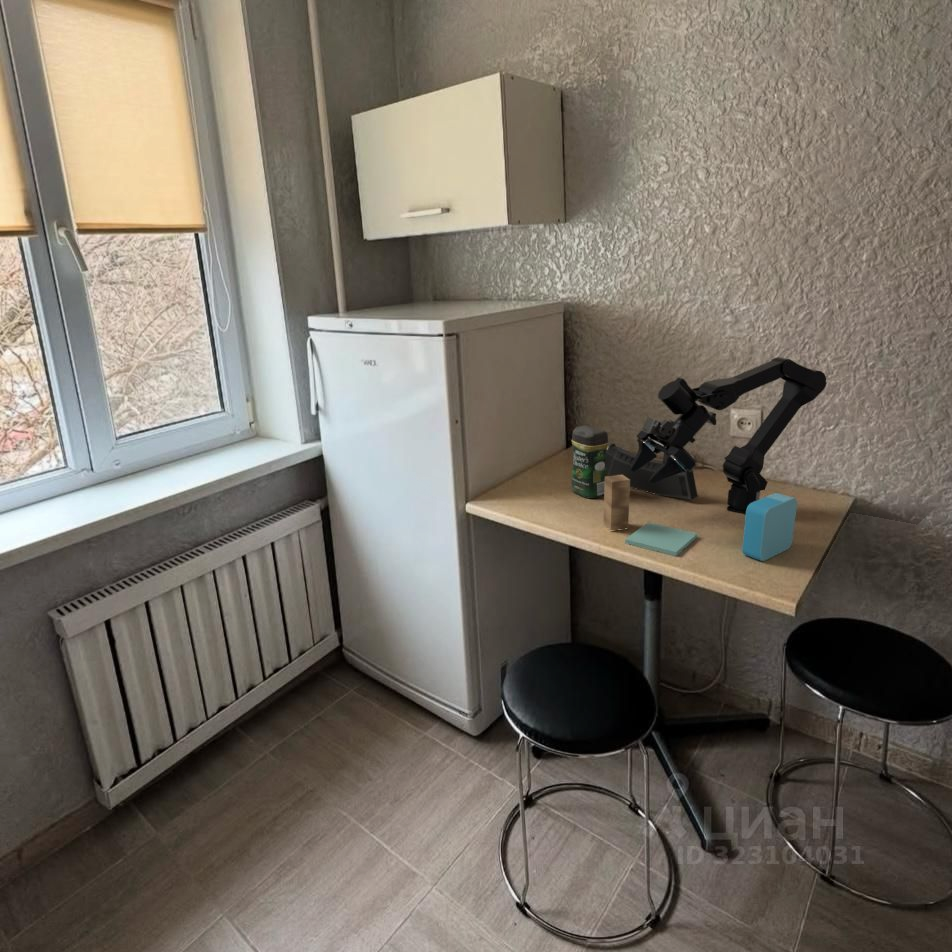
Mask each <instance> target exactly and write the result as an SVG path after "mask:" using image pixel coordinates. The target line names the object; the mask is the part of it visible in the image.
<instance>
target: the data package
mask: <svg viewBox="0 0 952 952" xmlns="http://www.w3.org/2000/svg"><path fill="white" fill-rule="evenodd" d="M797 506H798V500H797V498H795V497H792V496H789V495H785V494H782V493H779V492H775V493H772V494H770V495H767V496H764V497H763V498H759V500H757V501H755V502H752V503H750V504H749V505H748V507H747V510H746V514H745V518H744V529H743V539H742V547H741V552H742V553H743V555H744V556H746V557H750V558H753V559H755V560H757V561H760V562H765V561H768V560H769V559H771V558H773V557H776V556H777V555H779V554H781V553H783V552H785V551H787V550H789V549H790V547H791V546H792V544H793V539H794V530H795V524H796V515H797V508H798V507H797Z"/></svg>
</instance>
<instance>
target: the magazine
mask: <svg viewBox="0 0 952 952" xmlns="http://www.w3.org/2000/svg"><path fill="white" fill-rule="evenodd" d="M636 455H637V453H633V452H631V451H628V450H626V449H623V448H622V447H620V446H617V445H616V443H614V442H612V443H609V444H608V446H607V450H606V476H615V475H624V476H625V477H627V478H628V479H630V488H631V487H633V488H632V489H634V488H637V489H641V490H644V491H648V492H652V493H655V494H654V495H656V494H659V495H658V496H662V495H663V496H662V497H669V498H679V499H688V500H695V499H697V497H698V496H699V495H698V490H697V484H696V480H695V474H694V470H693V469H692V470H691V471H690V472H689V471H687V470H685V469H684V470H685V471H686V472H684V473H683V472H681V473H679V474H676V475H673V476H670V477H668V478H665V479H663V480H660V481H658V482H656V483H653V484H651V483H650V482H649V480H650V478H651V477H652V475H653V474H654V473H655V471H656V470H657V469H658V467H659V466H660V465H661V464H662V462H663V460H659V459H655V458H654V459H653V460H651V461H650V462H648V463H647V464H645V465H644V466H642V467H641V468H639V469H638V470H636V471H634V472H633V471H631V469H630V468H631V466H632V464H633V462H634V460H635V457H636ZM637 489H636V490H637ZM641 490H640V491H641ZM644 491H643V492H644ZM648 492H647V493H648ZM652 493H651V494H652Z"/></svg>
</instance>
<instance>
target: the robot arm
mask: <svg viewBox="0 0 952 952" xmlns="http://www.w3.org/2000/svg"><path fill="white" fill-rule="evenodd" d="M779 379H781V380H783V381H785V382H784V383H783V386H782V387H783V388H782V395H781V397H780V399H779V400H778V402H776V404H775V406H774V407H773V408H772V410H771V411H770V412H769V414H768V415H767V416H766V418H765V419H764V420H763V422H762V423H761V424H760V426H759V427H758V428H757V430H756V431H755V432H754V433H753V435H752V437H751V438H750V439H749V441H748V442H747V443H746V444H744V445H743V446H741V447H739V446H737V445H735V446H733V447H732V448H731V450H730V452H729V454H728V455H727V456H725V457H724V458H723V459H724V462H723V464H722V471H723V474H724V475H725V477H726V480H727V482H729V483H731V486H730V488H729V489H728V491H727V492H728V493H727V502H726V504H727V507H726V510H727V511H732V512H736V513H741V514H745V515H746V510H747V507H748V505H749V504H750V503H752V502H755V501H757V500H759V499H760V496H761V491H765V490H766V487H767V485H768V483H769V482H768V481H767V480H766V478H765V477H764V476H762V474H761V472H762V471H763V468H764V463H765V456H766V455H767V453H768V452H769V450H770V449H771V447H772V446H773V445H774V443H776V441H777V439H778V438H779V437H780V435H781V434H782V433H783V432H784V430H785V429H786V428H787V426H788V425H789V423H790V422H792V420H793V418H794V417H795V415H796V414H797V413H798V412H799V410H800V409H801V408H802V407H803V406H805V405H807V404H809V403H810V402H813V401H814V400H815V399H816V398H817V397H818V396H819V395H820V394H822V392H823V391H824V390H825V389H826V386H827V384H828V382H827V376H826V374H825V372H823V371H821V370H816V369H814V368H808V367H806V366H803V365H801V364H798V363H797V362H795V361H794V360H792V359H789V358H786V357H784V358H783V357H780V356H779V357H778V356H777V357H775V358H774V357H773V358H772V359H771V360H770V361H768V362H765V363H763V364H761V365H758V366H756V367H753V368H751V369H749V370H746V371H744V372H742V373H739V374H738V375H735V376H732V377H728V378H718V379H717V378H716V379H713V380H708V381H705V382H703V383H702V384H700V385H699V386H698V387H694V388H691V387H690V385H688V383H687V380H685V379H684V378H683V377H677V378H676V379H675V380H672V381H670V382H668V383H667V384H665V385H663V386H662V387H661V388H660V390H659V392H658V393H657V397H658V400H660V401H661V402H662V404H663V405H665V407H667V409H668V410H670V411H671V413H672V414H673V415H676V416H677V415H679V416H678V417H677V418H675V420H674V421H673V420H666V419H663V420H661V421H659V420H656V419H654V418H652V417H650V416H647V417H646V419H645V421H644V423H643V425H642V428H641V430H640V431H639V432H638V433H637V434H636V438H637V439H636V440H637V443H638V450H637V453H636V457H635V460H634V462H633V464H632V466H631V468H630V469H631V471H633V472H634V471H636V470H638V469H639V468H641V467H642V466H644V465H645V464H647V463H648V462H650V461H651V460H653V459H654V460H655V458H657V457H658V454H659V453H661V452H662V453H663V459H662V461H663V462H662V464H661V465H660V466H659V467H658V469H657V470H656V471H655V473H654V474H653V475H652V477H651V478H650V480H649V482H650V483H651V484H653V483H656V482H658V481H660V480H663V479H665V478H668V477H670V476H673V475H676V474H679V473H681V472H683V473H684V472H686V471H685V470H687V471H689V472H690V471H691V470H693V469H694V468H695V467H696V465H697V464H696V463H697V461H696V459H695V458H694V457H693V456H692V455H691V454H690V453H689V451H687V450H686V449H685V447H686V446H687V445H688V443H691V444H694V443H695V442H696V439H695V438H694V437H695V436H696V435H697V434H698V432H699V431H700V430H701V429H702V428H703V427H704V426H705V425H706V424H709V425H713V426H716V425H717V420H716V419H717V418H716V417H717V413H716V412H713V411H709V410H708V409H707V407H708V408H711V409H713V410H717V411H723V410H726V409H727V408H728V407H730V406H732V405H733V404H735V403H736V402H737V401H738V400H739V399H740V397H741V396H742V395H745V394H747V393H749V392H751V391H754V390H756V389H758V388H761V387H762V386H765V385H768V384H769V383H772V382H774V381H777V380H779ZM697 402H699V404H698V403H697ZM684 469H685V470H684Z"/></svg>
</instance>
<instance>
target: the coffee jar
mask: <svg viewBox="0 0 952 952" xmlns="http://www.w3.org/2000/svg"><path fill="white" fill-rule="evenodd" d="M571 435H572V438H571V444H572V451H573V453H572V454H573V455H572V456H573V459H572V473H571V487H570V488H571V491H572V492H573V493H575V494H576V495H579V496H582V497H584V498H588V499H590V498H596V499H597V498H601V497H602V496H603V497H604V489H605V477H606V450H607V448H608V446H609V437H608V436H609V435H608V432H606V431H605V430H602V429H597V428H595V427H591V426H589V425H586V424H585V425H580V426H577V427H575V428H574V429H573V431H572V434H571ZM600 496H601V497H600Z"/></svg>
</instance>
